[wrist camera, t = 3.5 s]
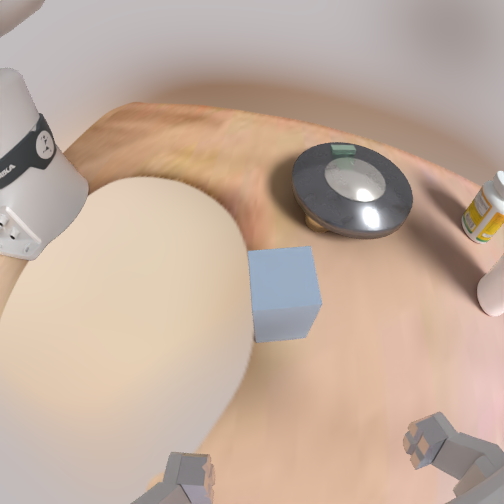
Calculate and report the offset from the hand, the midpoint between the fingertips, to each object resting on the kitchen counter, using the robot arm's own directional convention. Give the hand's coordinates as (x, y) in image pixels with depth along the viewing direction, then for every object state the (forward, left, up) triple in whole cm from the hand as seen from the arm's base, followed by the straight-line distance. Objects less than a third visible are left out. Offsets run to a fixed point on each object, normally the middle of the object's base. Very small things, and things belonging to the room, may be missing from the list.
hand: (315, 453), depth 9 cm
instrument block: (0, +11, -13) cm, 17 cm away
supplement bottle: (+29, +19, -13) cm, 37 cm away
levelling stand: (+10, +24, -13) cm, 29 cm away
